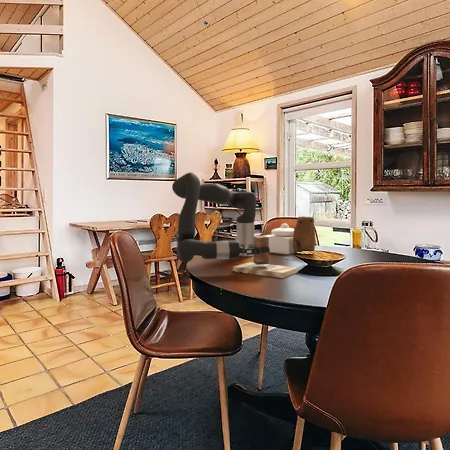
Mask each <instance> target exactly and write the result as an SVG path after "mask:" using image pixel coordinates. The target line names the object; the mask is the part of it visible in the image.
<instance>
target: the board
mask: <svg viewBox="0 0 450 450" xmlns="http://www.w3.org/2000/svg"><path fill="white" fill-rule="evenodd" d="M298 270H299V268H298V267H295V266H288V265H287V266H286V265H278V264H277V265H276V264H270V263H269V264H262V265H257V264H255V263H254V262H251V261H249V262H246V263H242V264H241V263H240V264H239V265H234V266H232V272H233V271H235V273H240V272H242V273H241V274H248V273H249V274H248V275H258V276H263V277H264V276H265V277H272V278H281V279H284V278H288V277H290V276H292V275H295V274H296V273H298Z"/></svg>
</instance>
